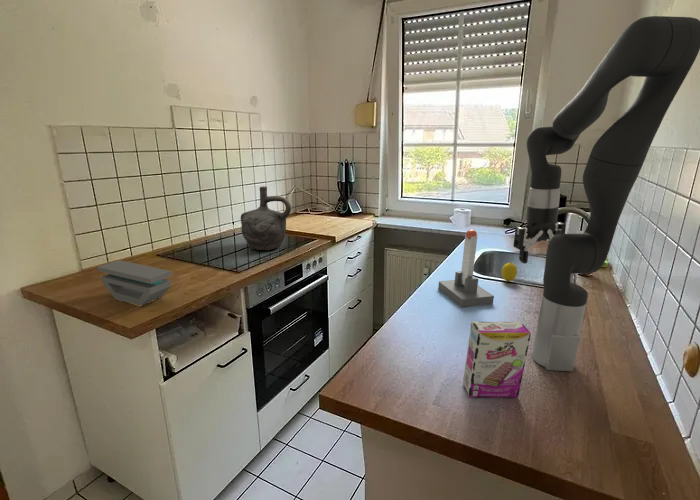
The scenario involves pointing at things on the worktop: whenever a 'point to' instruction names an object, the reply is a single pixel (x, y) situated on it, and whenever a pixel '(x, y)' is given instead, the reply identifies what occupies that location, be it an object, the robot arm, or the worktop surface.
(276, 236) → the vessel
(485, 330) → the candy bar box
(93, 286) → the worktop surface
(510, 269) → the lemon
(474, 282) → the lever stand
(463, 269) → the lever
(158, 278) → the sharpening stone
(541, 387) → the worktop surface
